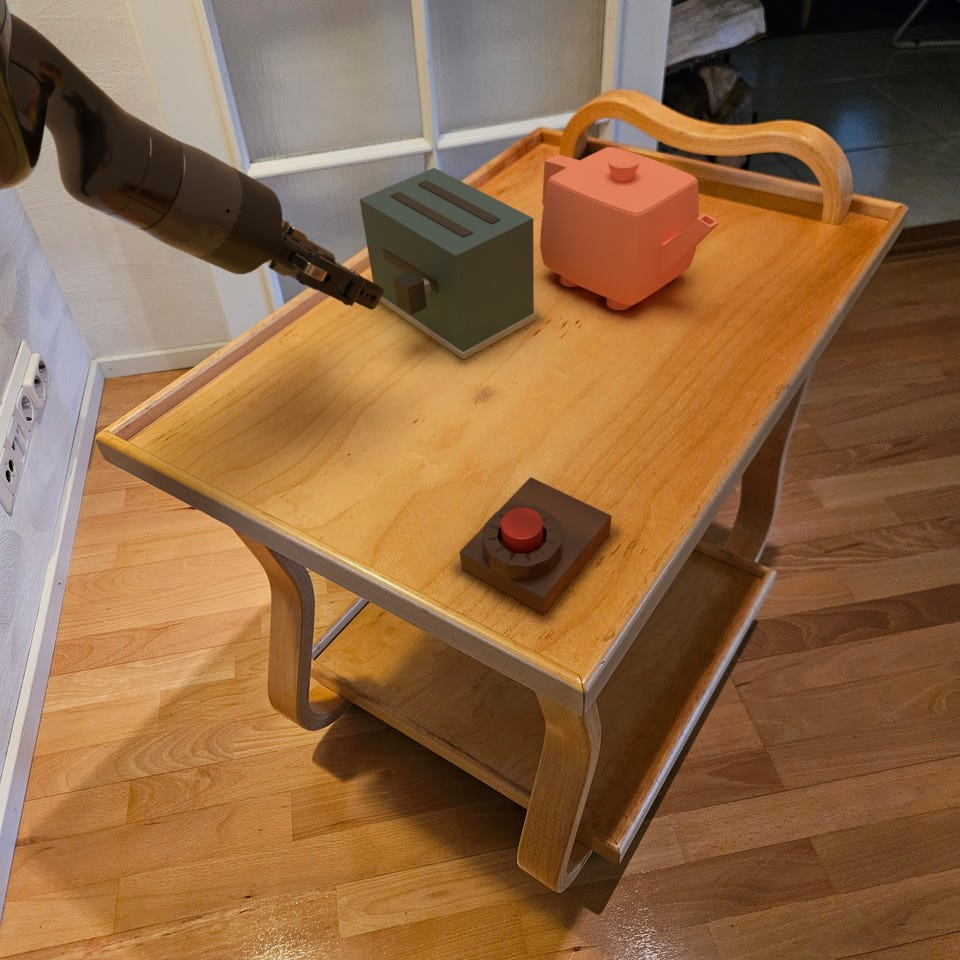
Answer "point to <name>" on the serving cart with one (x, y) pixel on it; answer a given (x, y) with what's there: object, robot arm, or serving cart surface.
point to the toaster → (453, 258)
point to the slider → (411, 292)
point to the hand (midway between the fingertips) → (350, 280)
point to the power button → (522, 530)
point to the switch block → (554, 562)
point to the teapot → (619, 223)
